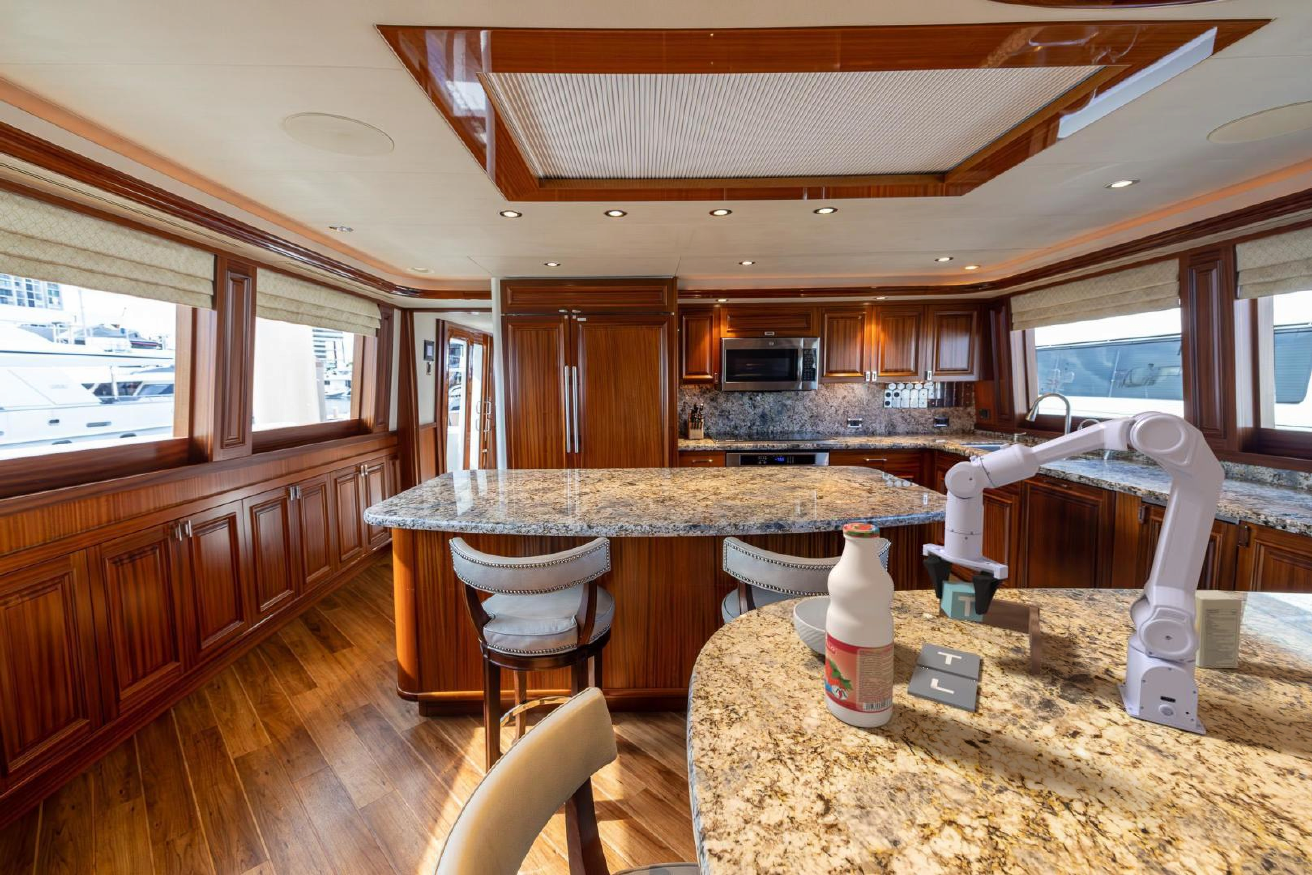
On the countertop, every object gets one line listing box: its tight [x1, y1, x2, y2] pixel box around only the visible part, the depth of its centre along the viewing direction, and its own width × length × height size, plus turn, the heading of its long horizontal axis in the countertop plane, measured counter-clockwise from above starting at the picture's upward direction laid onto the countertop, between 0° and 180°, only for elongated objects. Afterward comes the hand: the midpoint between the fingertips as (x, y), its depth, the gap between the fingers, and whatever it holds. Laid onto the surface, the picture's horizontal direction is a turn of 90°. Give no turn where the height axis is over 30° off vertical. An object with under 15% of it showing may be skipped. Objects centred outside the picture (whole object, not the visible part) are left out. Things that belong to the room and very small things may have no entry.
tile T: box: [916, 642, 981, 683], centre depth 90 cm, size 9×9×1 cm
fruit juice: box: [824, 522, 895, 729], centre depth 76 cm, size 9×9×28 cm
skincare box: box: [1195, 589, 1242, 669], centre depth 89 cm, size 6×4×12 cm
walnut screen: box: [938, 597, 1043, 677], centre depth 97 cm, size 19×17×6 cm
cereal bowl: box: [792, 595, 831, 656], centre depth 95 cm, size 17×17×7 cm
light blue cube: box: [941, 580, 983, 622], centre depth 91 cm, size 5×5×5 cm
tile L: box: [906, 665, 978, 714], centre depth 82 cm, size 9×9×1 cm
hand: (960, 605), depth 91 cm, fingers closed on light blue cube, 7 cm apart
